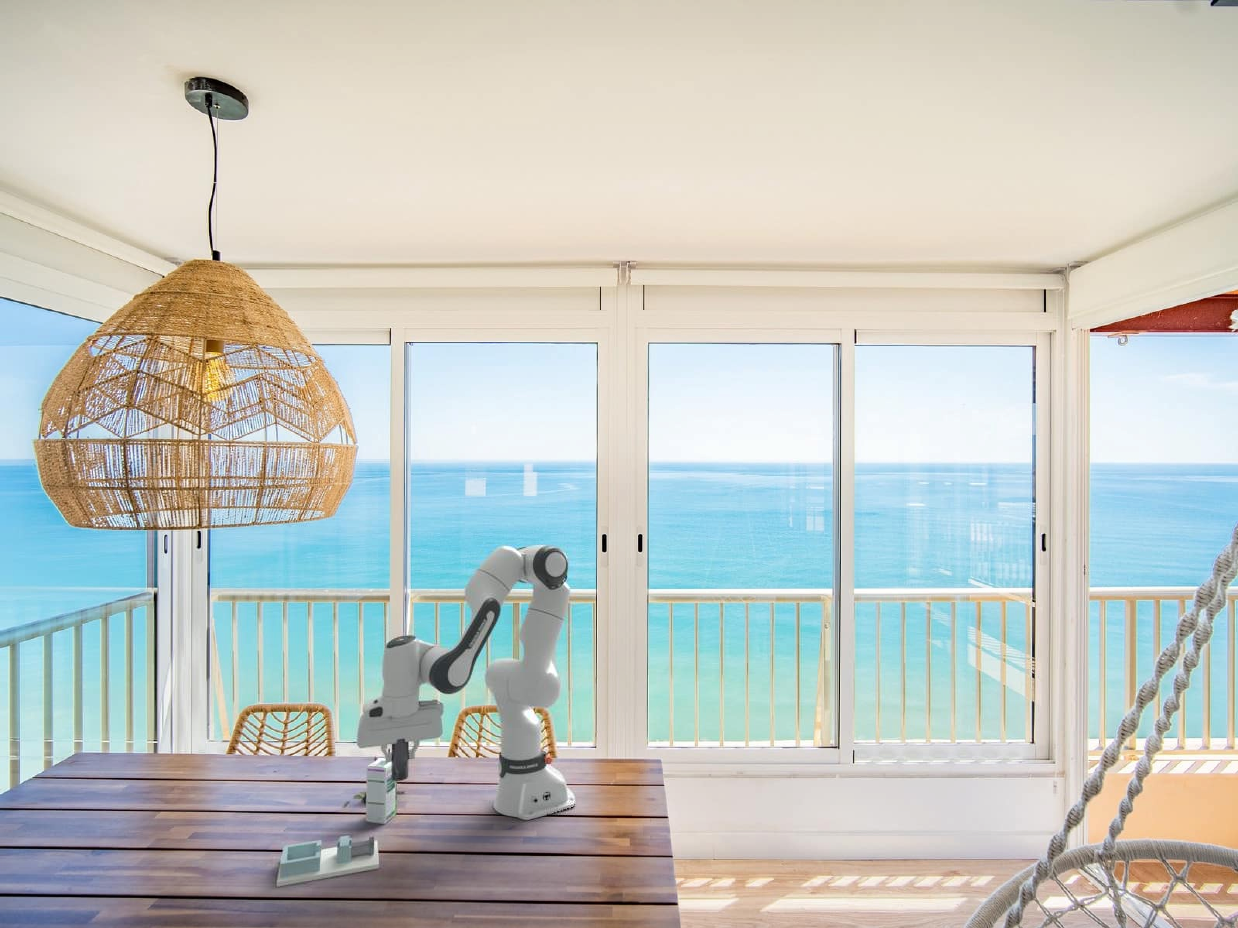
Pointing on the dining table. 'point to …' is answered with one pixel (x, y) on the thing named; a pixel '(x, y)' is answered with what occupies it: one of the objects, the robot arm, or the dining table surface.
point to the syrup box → (380, 792)
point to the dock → (322, 861)
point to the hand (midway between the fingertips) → (400, 759)
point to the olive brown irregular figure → (363, 795)
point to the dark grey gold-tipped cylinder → (400, 760)
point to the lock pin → (362, 847)
